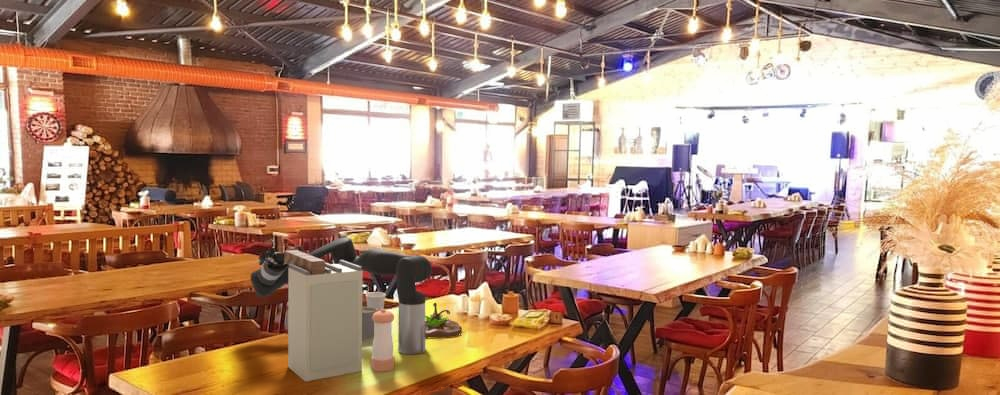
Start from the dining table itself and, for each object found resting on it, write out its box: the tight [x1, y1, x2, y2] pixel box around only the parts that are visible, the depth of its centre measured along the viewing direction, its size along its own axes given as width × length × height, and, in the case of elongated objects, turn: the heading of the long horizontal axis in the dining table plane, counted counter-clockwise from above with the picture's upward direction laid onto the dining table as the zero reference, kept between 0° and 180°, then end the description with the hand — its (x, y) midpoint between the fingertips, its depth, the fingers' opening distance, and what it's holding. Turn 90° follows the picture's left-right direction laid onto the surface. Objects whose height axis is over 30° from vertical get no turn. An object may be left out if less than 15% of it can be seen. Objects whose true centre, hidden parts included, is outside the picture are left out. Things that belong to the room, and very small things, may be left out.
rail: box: [284, 249, 326, 275], centre depth 204 cm, size 26×4×4 cm, turn 36°
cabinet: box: [287, 260, 364, 383], centre depth 203 cm, size 16×18×33 cm
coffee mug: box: [362, 306, 378, 340], centre depth 245 cm, size 13×10×10 cm
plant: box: [425, 302, 463, 339], centre depth 253 cm, size 20×20×11 cm
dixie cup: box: [365, 291, 387, 311], centre depth 271 cm, size 8×8×10 cm
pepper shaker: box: [370, 308, 395, 372], centre depth 206 cm, size 7×7×19 cm
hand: (286, 248), depth 217 cm, fingers open, 8 cm apart
